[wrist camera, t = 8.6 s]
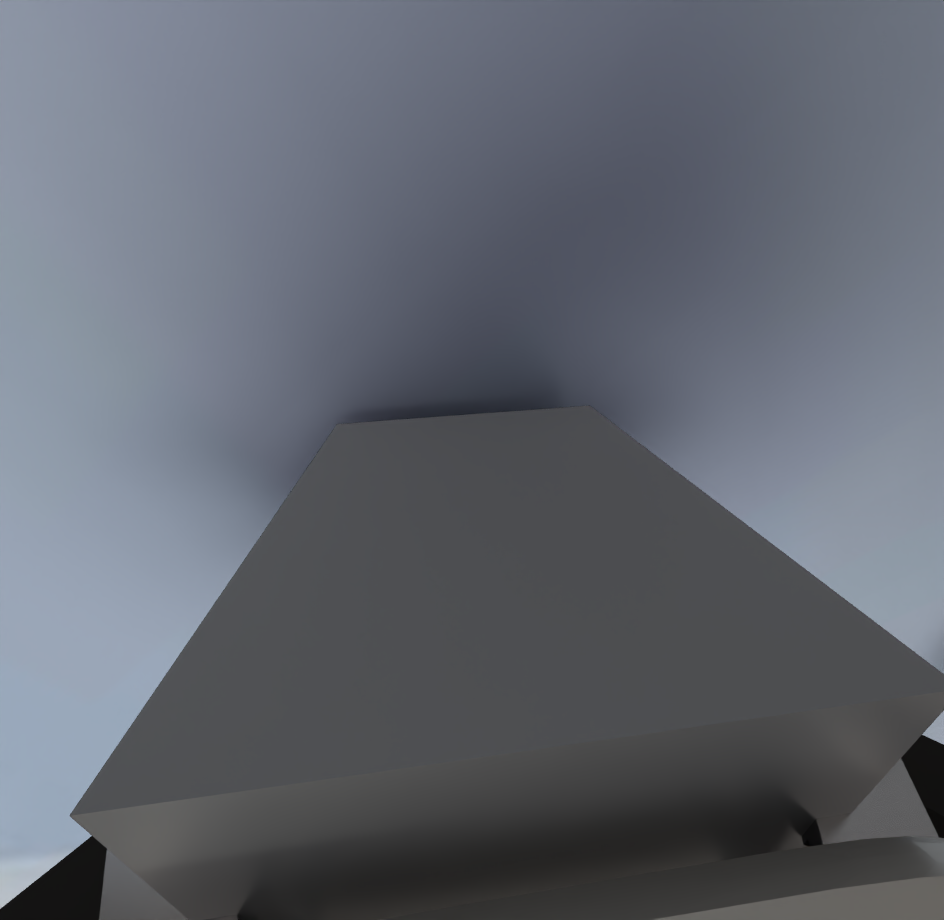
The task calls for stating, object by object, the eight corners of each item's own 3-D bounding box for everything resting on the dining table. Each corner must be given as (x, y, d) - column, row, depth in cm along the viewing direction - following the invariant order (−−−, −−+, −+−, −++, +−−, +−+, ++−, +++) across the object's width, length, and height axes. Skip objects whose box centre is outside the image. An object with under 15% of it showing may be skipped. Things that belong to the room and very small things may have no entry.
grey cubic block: (337, 424, 11) (70, 815, 3) (589, 405, 11) (963, 689, 3) (377, 610, 14) (309, 1024, 6) (570, 588, 15) (733, 944, 7)
